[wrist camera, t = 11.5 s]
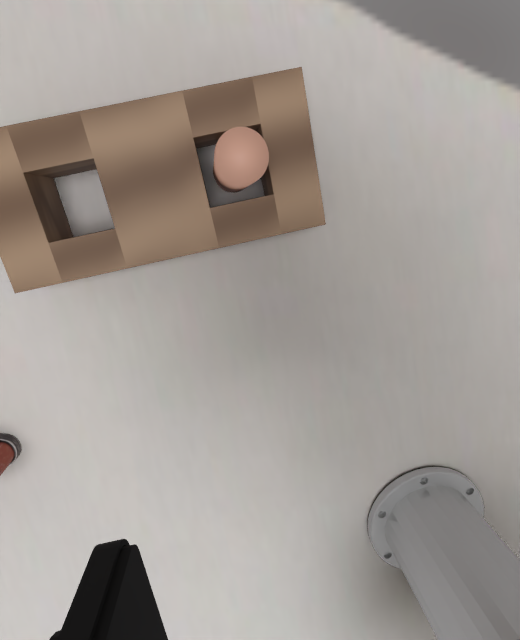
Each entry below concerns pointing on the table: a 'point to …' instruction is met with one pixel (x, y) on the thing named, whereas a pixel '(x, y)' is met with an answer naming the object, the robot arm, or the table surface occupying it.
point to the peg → (239, 159)
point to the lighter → (8, 450)
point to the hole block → (153, 179)
